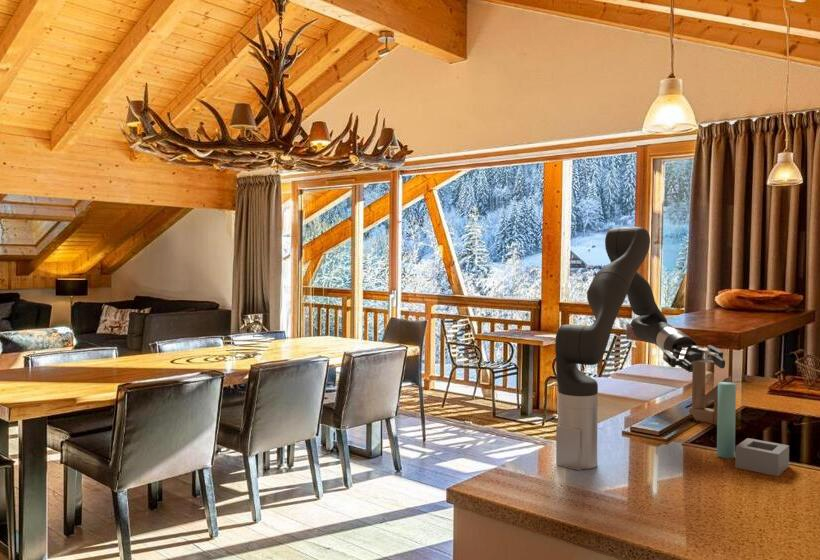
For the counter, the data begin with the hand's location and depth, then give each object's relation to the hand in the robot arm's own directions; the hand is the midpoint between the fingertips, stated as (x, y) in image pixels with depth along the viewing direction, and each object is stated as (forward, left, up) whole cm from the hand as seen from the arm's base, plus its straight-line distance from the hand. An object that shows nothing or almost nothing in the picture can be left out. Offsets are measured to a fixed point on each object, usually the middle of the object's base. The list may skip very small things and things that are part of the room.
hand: (707, 366), depth 166 cm
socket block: (-7, -15, -21) cm, 27 cm away
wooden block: (+26, +8, -21) cm, 35 cm away
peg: (-4, -6, -21) cm, 22 cm away
